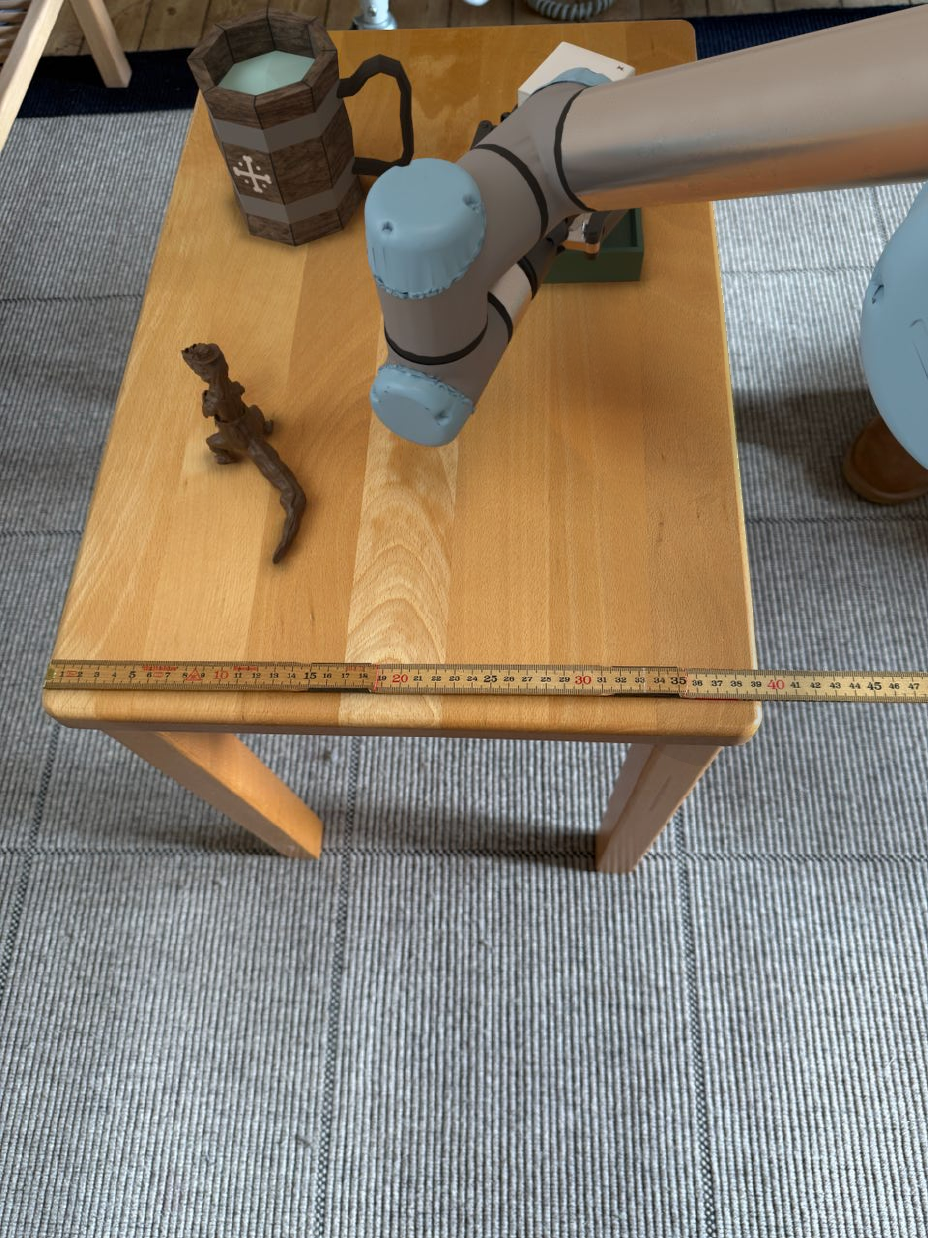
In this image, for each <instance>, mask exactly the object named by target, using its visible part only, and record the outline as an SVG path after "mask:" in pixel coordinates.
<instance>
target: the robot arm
mask: <svg viewBox="0 0 928 1238" xmlns="http://www.w3.org/2000/svg"><path fill="white" fill-rule="evenodd" d="M499 116H500V117H499V121H500V123H499V124H493V122H492V121H491V120H489V119H484V120H481V121H480V122H479V123H478V125H477V128H476V130H475V133H474V136H473V138H472V142H471V146H470V147H469V150H468V151H467V152H465V153H463V155H462V156H461V157H460V158H459V159H457V160H456V161H455V162H452V161H449V160H445V159H442V158H436V157H435V158H434V157H422V158H420V157H419V158H415V159H412V160H411V162H410V164H409V165H408V166H405V167H398V166H394V167H392V168H391V169H389V170H388V171H386V172H385V173H384V174H382V175H381V176H380V177H377V179H376V181H375V182H374V183H373V185H372V186H371V187H370V189H369V191H368V194H367V196H366V200H365V203H364V211H363V213H364V225H365V226H364V227H365V232H364V233H365V240H366V255H367V262H368V266H369V268H370V271H371V274H372V276H373V280H374V284H375V285H374V286H375V289H376V293H377V296H378V302H379V305H380V309H381V314H382V317H383V335H384V340H385V344H386V348H387V357H386V359H385V361H384V363H383V364H382V365H380V366H379V367H378V369H377V372H376V373H377V374H376V376H375V378H374V381H373V383H372V385H371V387H370V391H369V402H370V403H369V404H370V406H371V409H372V411H373V413H374V414H375V416H376V417H377V418H378V420H379V421H380V422H381V423H382V425H384V427H385V428H387V429H388V430H389V431H390V432H392V433H393V434H394V435H396V436H398V437H399V438H401V439H402V440H405V441H407V442H410V443H414V444H416V445H419V446H420V447H421V446H422V447H428V448H440V447H444V446H446V445H449V444H451V443H452V442H453V441H454V440H456V439H457V438H458V436H459V434H460V433H461V431H462V430H463V428H464V426H465V425H466V423H467V422H468V421H469V419H470V417H471V416H473V415H474V413H475V412H476V410H477V405H478V403H479V401H480V399H481V397H482V395H483V393H484V391H485V389H486V388H487V386H488V383H489V382H490V380H491V378H492V377H493V375H494V373H495V371H496V369H497V367H498V365H499V363H500V361H501V359H502V357H503V356H504V353H505V352H506V350H507V348H508V345H509V344H510V342H511V341H512V339H513V337H514V336H515V333H516V331H518V328H519V326H520V324H521V322H522V321H523V319H524V316H525V315H526V313H527V311H528V310H529V308H530V305H531V303H532V301H533V300H534V298H535V297H536V295H537V293H538V292H539V290H540V288H541V286H542V284H543V283H542V282H543V281H544V279H545V277H546V275H547V273H548V271H549V269H550V267H551V265H552V263H553V261H554V259H555V258H556V257H557V256H559V255H561V254H562V253H564V252H565V251H566V249H573V250H580V251H584V257H585V259H587V260H590V261H593V260H596V259H597V258H598V256H599V252H600V249H601V245H602V242H603V240H604V239H605V238H606V237H607V236H608V234H609V233H610V232H611V231H612V230H613V228H614V227H615V226H616V225H617V224H618V222H619V221H620V220H621V219H622V217H623V216H624V215H625V214H626V213H627V211H628V210H629V209H631V208H641V209H642V208H653V207H662V206H663V207H664V206H675V205H685V204H698V203H708V202H718V201H719V202H720V201H730V200H731V201H732V200H740V199H741V200H742V199H752V198H765V197H774V196H775V197H776V196H785V195H797V194H808V193H819V192H820V193H821V192H831V191H841V190H842V191H843V190H852V189H853V190H854V189H864V188H875V187H886V186H888V187H889V186H897V185H908V184H920V183H921V184H922V183H924V184H923V186H922V187H921V188H920V190H919V191H918V193H917V195H916V196H915V198H914V200H913V202H912V203H911V205H910V208H909V210H908V212H907V214H906V216H905V218H904V219H903V220H902V221H901V222H900V224H899V226H898V227H897V228H896V229H895V231H894V232H893V234H892V235H891V236H890V238H889V239H888V241H887V243H886V244H885V245H884V247H883V249H882V251H881V253H880V255H879V257H878V258H877V262H876V264H875V265H874V268H873V271H872V273H871V277H870V280H869V283H868V284H867V287H866V290H865V294H864V298H863V302H862V309H861V314H860V315H861V316H860V323H859V324H860V326H859V343H860V344H859V345H860V355H861V362H862V367H863V372H864V376H865V381H866V383H867V387H868V389H869V392H870V395H871V397H872V399H873V402H874V405H875V406H876V408H877V410H878V412H879V414H880V416H881V418H882V419H883V421H884V423H885V424H886V426H887V428H888V429H889V431H890V432H891V433H892V435H893V436H894V438H895V439H896V440H897V442H898V443H899V444H900V445H901V447H903V448H904V450H905V451H906V452H907V453H908V454H909V455H910V456H911V457H912V458H913V459H914V460H915V461H916V462H917V463H919V465H921V466H922V467H923V468H924V469H926V470H927V471H928V3H926V4H922V5H918V6H913V7H909V8H906V9H902V10H897V11H894V12H890V13H885V14H881V15H877V16H873V17H868V18H865V19H861V20H857V21H853V22H849V23H845V24H841V25H836V26H833V27H829V28H824V29H820V30H815V31H812V32H808V33H804V34H800V35H796V36H791V37H788V38H784V39H780V40H775V41H771V42H768V43H764V44H760V45H756V46H755V45H754V46H752V47H747V48H743V49H738V50H735V51H731V52H726V53H722V54H718V55H714V56H711V57H707V58H702V59H699V60H695V61H691V62H690V61H689V62H686V63H683V64H678V65H674V66H670V67H666V68H662V69H658V70H654V71H649V72H645V73H643V74H642V73H641V74H638V75H635V76H633V77H629V78H625V79H621V80H617V81H612V80H611V79H610V78H608V77H607V76H605V75H604V74H602V73H595V72H593V71H591V70H590V69H589V68H584V67H578V68H573V69H569V70H567V71H565V72H563V73H561V74H560V75H558V76H557V77H556V78H555V79H553V80H552V81H550V82H549V83H547V84H545V85H543V86H541V87H539V88H537V89H536V90H534V91H533V92H532V93H531V95H530V96H529V97H528V98H527V99H526V100H525V101H524V102H523V104H522V105H521V106H519V107H518V102H517V103H516V104H515V105H514V107H513V109H512V110H511V111H503V112H502V113H501V114H500V115H499ZM586 213H592V215H591V216H590V219H589V220H587V219H585V220H583V222H582V225H580V226H579V228H578V229H577V230H575V231H569V229H568V228H569V227H570V226H571V225H572V224H573V222H574V220H575V219H576V218H577V217H578V216H580V215H581V214H586Z"/></svg>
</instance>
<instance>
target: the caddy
mask: <svg viewBox="0 0 928 1238" xmlns="http://www.w3.org/2000/svg"><path fill="white" fill-rule="evenodd" d="M642 215H643V214H642V208H631V209H629V210H628V211H627V213H626V214H625V215H624V216H623V217H622V219H621V220H620V221H619V222H618V224H617V225H616V226H615V227H614V228H613V230H612V231H611V232H610V233H609V234H608V236H607V237H606V238H605V239H604V240H603V242H602V245H601V249H600V252H599V256H598V258H597V259H596V260H593V261H590V260H587V259H585V257H584V251H580V250H573V249H566V251H565V252H564V253H562V254H561V255H559V256H557V257H556V258H555V259H554V261H553V263H552V265H551V267H550V269H549V271H548V273H547V275H546V277H545V279H544V281H543V282H542V284H557V283H558V284H563V283H564V284H565V283H601V282H602V283H603V282H637V281H641V274H642V267H643V263H644V256H645V255H644V254H645V243H644V232H643V231H644V229H643V228H644V227H643V217H642Z"/></svg>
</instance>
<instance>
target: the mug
mask: <svg viewBox="0 0 928 1238" xmlns="http://www.w3.org/2000/svg"><path fill="white" fill-rule="evenodd" d="M338 50H339V49H338V48H337V47H336V45H335V43H334V42H333V39H332V38H331V36H330V34H329V32H328V31H327V28H326V27H325V26H324V23H323V21H321V18H320V17H319V16H315V15H311V14H306V13H301V12H295V11H290V10H287V9H281V8H277V7H271V6H267V7H263V8H260V9H257V10H254V11H250V12H246V13H244V14H240V15H238V16H235V17H232V18H229V19H225V20H223V21H219V22H216V23H214V24H213V25H212V27H211V28H210V29H209V30H208V32H206V34H205V35H204V37H203V38H202V39H201V40H200V41H199V43H198V44H197V45H196V46H195V48H194V49H193V51H192V52H191V53H190V55H188V57H187V58H186V61H187V64H188V66H189V68H190V71H191V72H192V74H193V77H194V79H195V82H196V83H197V86H198V89H199V90H200V93H201V95H202V98H203V101H204V104H205V106H206V111H207V114H208V118H209V122H210V126H211V130H212V134H213V138H214V141H215V142H216V145H217V147H218V149H219V151H220V153H221V156H222V158H223V160H224V163H225V166H226V168H227V171H228V175H229V178H230V180H231V184H232V189H233V193H234V198H235V203H236V204H237V207H238V210H239V212H240V214H241V216H242V219H243V221H244V223H245V225H246V227H247V230H248V232H249V234H250V235H252V236H255V237H259V238H263V239H266V240H271V241H274V242H278V243H280V244H281V243H282V244H285V245H289V246H292V247H298V246H300V245H303V244H306V243H309V242H311V241H315V240H318V239H320V238H323V237H327V236H328V235H332V234H335V233H337V232H340V231H343V230H344V229H345V228H346V226H347V225H348V223H349V222H350V220H351V218H352V216H353V215H354V213H355V212H356V210H357V208H358V207H359V205H360V203H361V202H362V200H363V198H364V197H365V196H366V195H365V194H366V193H365V191H364V188H363V185H362V182H361V180H360V176H367V177H376V178H379V177H380V176H381V175H382V174H384V173H385V172H386V171H388V170H389V169H391V168H392V167H394V166H398V167H405V166H408V165H409V164H410V163H411V161H412V160H413V157H414V154H415V134H414V132H415V131H414V125H413V124H414V123H413V122H414V121H413V114H412V112H413V110H412V109H413V107H412V106H413V105H412V104H413V103H412V101H413V100H412V98H413V97H412V94H413V93H412V92H413V88H412V83H411V82H410V79H409V77H408V76H407V73H406V71H405V69H404V66H403V64H402V62H401V60H399V59H396V58H392V57H391V56H387V55H384V54H381V53H378V54H376V55H374V56H372V57H369V58H367V59H365V60H363V61H362V62H361V63H360V65H359V66H358V67H357V69H356V70H354V72H353V73H352V74H351V75H350V76H348V77H343V78H340V67H339V54H338V53H339V52H338ZM379 74H383V75H385V76H389V77H392V78H395V82H396V84H397V87H398V90H399V92H400V93H399V94H400V95H399V121H400V122H399V123H400V131H401V139H402V141H401V142H402V153H401V157H399V158H397V159H395V160H392V161H386V160H383V159H379V158H373V157H363V156H355V151H354V150H355V148H354V133H353V127H352V123H351V120H350V117H349V113H348V110H347V106H346V103H345V98H349V97H354V96H355V95H356V94H358V93H359V92H360V91H361V90H362V89H363V87H364V86H365V84H366V83H367V82H368V80H369V79H371V78H373V77H376V75H379Z"/></svg>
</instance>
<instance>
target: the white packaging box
mask: <svg viewBox="0 0 928 1238" xmlns="http://www.w3.org/2000/svg"><path fill="white" fill-rule="evenodd" d="M578 67H584V68H589V69H590V70H591V71H593V72H595V73H602V74H604V75H605V76H607V77H608V78H610V79H611V80H612V81H617V80H621V79H625V78H629V77H633V76H636V68H635V67H633V66H631V65H630V64H627V63H624V62H622V61H619V60H617V59H614V58H611V57H608V56H606V55H603V54H600V53H597V52H594V51H592V50H589V49H586V48H584V47H581V46H578V45H575V44H572V43H570V42H566V41H561V42H560V43H559V45H558V46H556V48H555V49H554V50H553V51H551V53H550V54H549V56H548V57H546V59H545V60H544V61H543V62H542V63H541V64H540V65H539V66H538V67H537V68H536V69H535V70H534V71H533V72H532V74H531V75H530V76H528V78H527V79H526V80H525V81H524V82H523V83H522V84H521V86H519V87H518V89H517V103H518V107H519V106H521V105H522V104H523V102H524V101H525V100H526V99H527V98H528V97H529V96H530V95H531V93H532V92H533V91H534V90H536V89H537V88H539V87H541V86H543V85H545V84H547V83H549V82H550V81H552V80H553V79H555V78H556V77H557V76H558V75H560V74H561V73H563V72H565V71H567V70H569V69H573V68H578ZM591 215H592V213H586V214H581V215H580V216H578V217H577V218H576V219H575V220H574V222H573V224H572V225H571V226H570V227H569V228H568V229H569V231H575V230H577V229H578V228H579V226H580V225H582V222H583V220H585V219H587V220H589V219H590V216H591Z"/></svg>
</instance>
